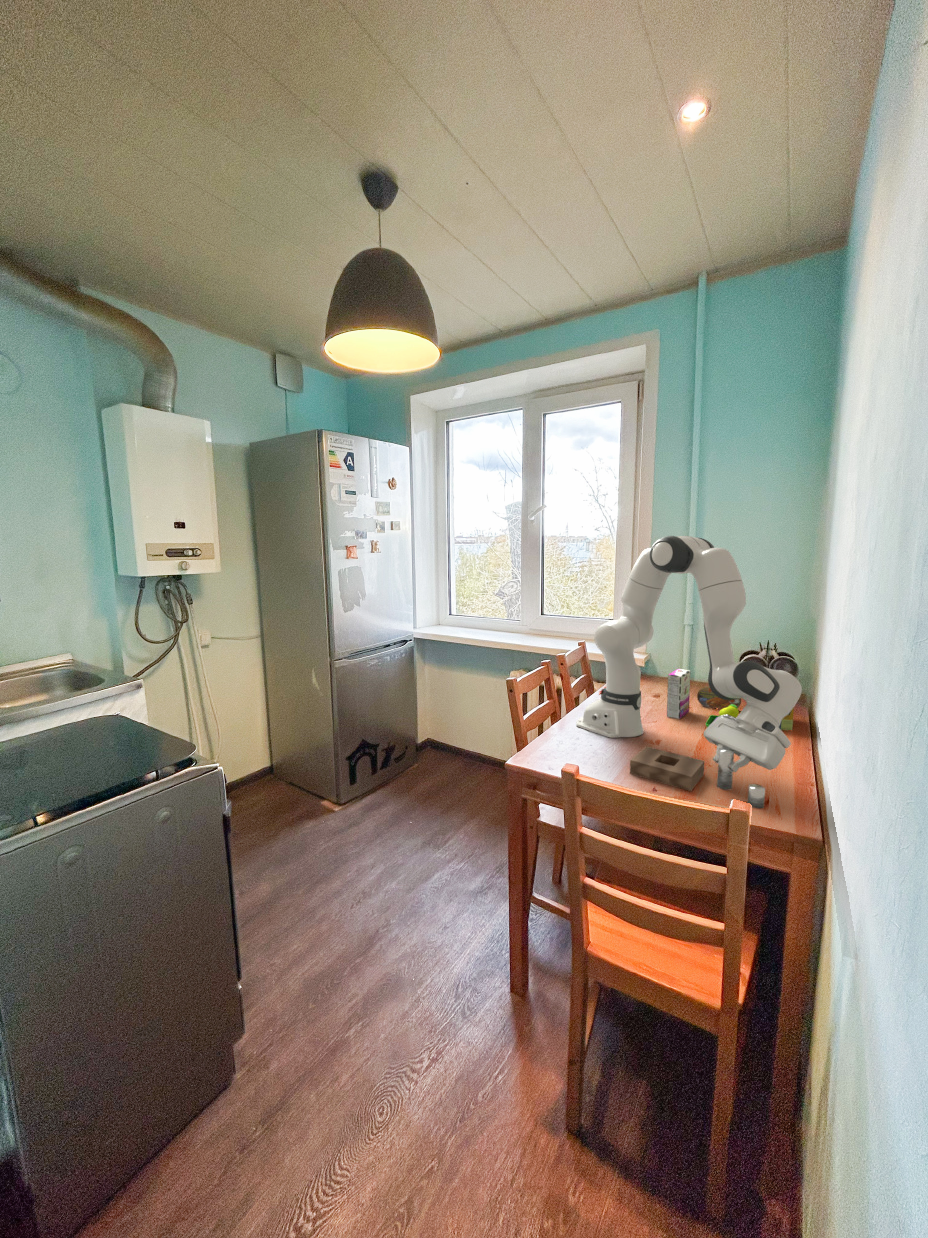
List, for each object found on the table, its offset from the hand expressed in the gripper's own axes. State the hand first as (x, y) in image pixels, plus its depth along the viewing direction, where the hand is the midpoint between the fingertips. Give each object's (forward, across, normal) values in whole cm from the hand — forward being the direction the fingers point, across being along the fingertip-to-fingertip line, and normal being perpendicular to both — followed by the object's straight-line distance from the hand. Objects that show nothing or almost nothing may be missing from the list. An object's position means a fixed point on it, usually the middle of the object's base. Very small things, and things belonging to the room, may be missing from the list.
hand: (723, 765), depth 124 cm
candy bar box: (-17, -49, +25) cm, 58 cm away
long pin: (+4, 0, +5) cm, 6 cm away
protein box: (-34, -31, +42) cm, 62 cm away
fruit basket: (-15, -27, +24) cm, 39 cm away
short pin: (+4, +9, +4) cm, 11 cm away
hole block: (+10, -11, -2) cm, 15 cm away
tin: (-30, -49, +39) cm, 70 cm away
